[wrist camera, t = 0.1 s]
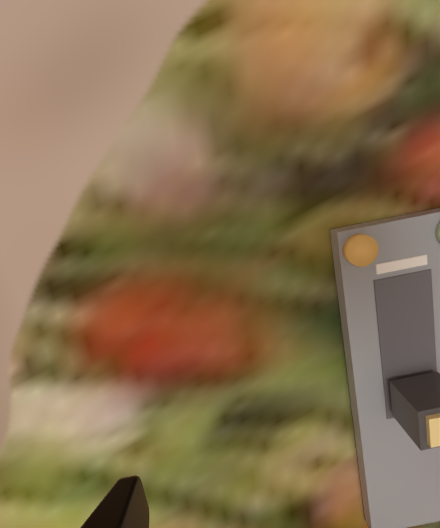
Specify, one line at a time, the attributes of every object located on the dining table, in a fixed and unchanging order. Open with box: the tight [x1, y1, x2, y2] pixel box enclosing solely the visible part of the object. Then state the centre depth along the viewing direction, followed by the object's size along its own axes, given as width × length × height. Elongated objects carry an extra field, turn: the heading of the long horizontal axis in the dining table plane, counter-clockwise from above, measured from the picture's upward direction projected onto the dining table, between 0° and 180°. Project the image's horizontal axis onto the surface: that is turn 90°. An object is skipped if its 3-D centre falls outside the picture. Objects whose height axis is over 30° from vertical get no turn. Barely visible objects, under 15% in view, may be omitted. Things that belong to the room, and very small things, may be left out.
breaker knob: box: [389, 372, 440, 450], centre depth 21 cm, size 2×3×3 cm
